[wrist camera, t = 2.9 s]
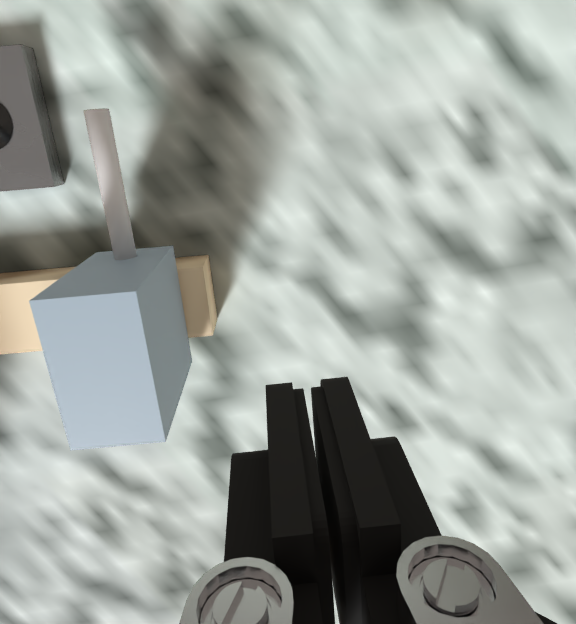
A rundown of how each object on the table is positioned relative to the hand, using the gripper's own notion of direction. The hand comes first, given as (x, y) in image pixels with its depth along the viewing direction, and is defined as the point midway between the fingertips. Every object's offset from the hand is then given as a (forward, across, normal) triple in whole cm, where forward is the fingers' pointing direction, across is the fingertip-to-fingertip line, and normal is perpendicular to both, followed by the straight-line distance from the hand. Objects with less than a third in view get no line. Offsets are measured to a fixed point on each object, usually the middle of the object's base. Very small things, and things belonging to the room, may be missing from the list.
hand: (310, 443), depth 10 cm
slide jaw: (+11, +6, -2) cm, 12 cm away
